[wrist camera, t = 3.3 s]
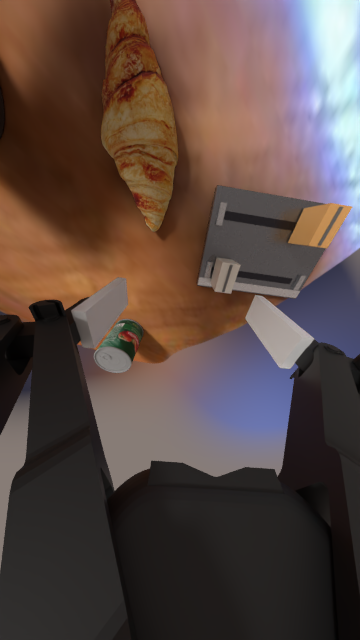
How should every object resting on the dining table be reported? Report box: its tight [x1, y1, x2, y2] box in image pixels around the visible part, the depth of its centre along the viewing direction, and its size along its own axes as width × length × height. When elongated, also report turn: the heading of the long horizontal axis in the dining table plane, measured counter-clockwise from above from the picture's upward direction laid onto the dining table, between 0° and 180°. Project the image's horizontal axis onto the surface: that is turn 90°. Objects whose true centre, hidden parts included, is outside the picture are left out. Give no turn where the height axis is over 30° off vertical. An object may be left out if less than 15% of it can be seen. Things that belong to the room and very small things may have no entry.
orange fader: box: [288, 203, 352, 248], centre depth 22 cm, size 3×5×5 cm, turn 173°
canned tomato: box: [94, 319, 143, 373], centre depth 35 cm, size 8×8×11 cm
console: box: [197, 185, 326, 299], centre depth 27 cm, size 22×16×3 cm
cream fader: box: [210, 257, 241, 294], centre depth 26 cm, size 3×5×5 cm, turn 173°
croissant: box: [101, 0, 178, 232], centre depth 19 cm, size 21×10×8 cm, turn 5°
